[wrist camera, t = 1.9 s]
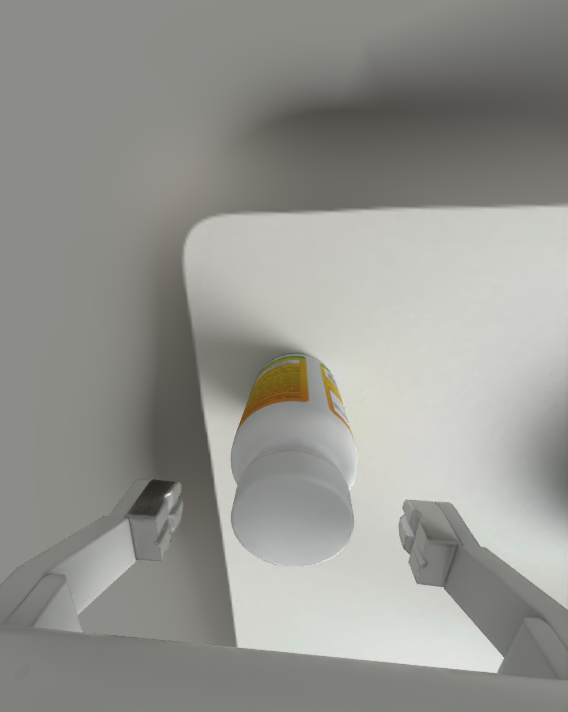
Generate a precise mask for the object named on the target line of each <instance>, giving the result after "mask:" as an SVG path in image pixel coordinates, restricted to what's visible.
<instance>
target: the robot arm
mask: <svg viewBox="0 0 568 712" xmlns="http://www.w3.org/2000/svg"><path fill="white" fill-rule="evenodd" d="M181 491H182V489H181V484H180V483H179V482H171V481H162V480H149V479H138V480H136V481H135V482H134V483H133V485H132V486H131V487H130V489H129V490H128V491H127V493H126V494H125V495H124V496H123V498H122V499H121V500H120V501H119V503H118V504H117V505H116V507H115V508H114V509H113V510H112V512H111V513H110V514H109V516H103V517H101V518H99V519H98V520H97V521H94V522H93V523H91V524H89V525H88V526H86V527H84V528H83V529H82V530H79V531H78V532H76V533H74V534H73V535H71V536H69V537H68V538H66V539H64V540H63V541H61V542H59V543H58V544H56V545H55V546H53V547H51V548H49V549H48V550H46V551H44V552H43V553H41V554H39V555H38V556H36V557H34V558H33V559H31V560H29V561H28V562H26V563H25V564H23V565H21V566H19V567H18V568H16V569H15V570H14V571H13V572H12V573H11V574H10V575H9V576H8V577H7V579H6V580H5V581H4V582H3V583H2V584H1V585H0V712H568V610H567V609H566V608H564V607H563V606H562V605H560V604H559V603H558V602H556V601H555V600H554V599H552V598H551V597H550V596H548V595H547V594H546V593H545V592H543V591H542V590H541V589H539V588H538V587H537V586H535V585H534V584H533V583H531V582H530V581H529V580H527V579H526V578H525V577H524V576H522V575H521V574H520V573H518V572H517V571H516V570H514V569H513V568H512V567H510V566H509V565H508V564H506V563H505V562H504V561H503V560H501V559H500V558H499V557H497V556H496V555H495V554H493V553H492V552H491V551H489V550H488V549H487V548H485V547H480V545H479V544H478V542H477V541H476V539H475V538H474V536H473V534H472V533H471V531H470V530H469V528H468V527H467V525H466V524H465V522H464V521H463V519H462V518H461V516H460V515H459V513H458V512H457V510H456V509H455V507H454V506H453V505H452V504H451V503H450V502H433V501H419V500H405V502H404V504H403V510H404V513H405V514H404V515H403V516H402V517H400V521H399V535H400V539H401V543H402V546H403V548H404V549H405V550H406V551H407V552H408V553H409V554H410V558H409V564H410V567H411V570H412V572H413V575H414V578H415V580H416V583H417V584H423V585H431V586H439V587H444V589H445V590H446V591H447V592H448V594H449V595H450V596H451V597H452V598H453V599H454V601H455V602H456V603H457V604H458V605H459V606H460V607H461V609H462V610H463V611H464V612H465V613H466V614H467V615H468V617H469V618H470V619H471V620H472V621H473V622H474V623H475V625H476V626H477V627H478V628H479V629H480V630H481V631H482V633H483V634H484V635H485V636H486V637H487V638H488V639H489V641H490V642H491V643H492V644H493V645H494V646H495V647H496V649H497V650H498V651H499V652H500V653H501V654H502V655H503V657H504V659H503V661H502V663H501V665H500V667H499V669H498V672H497V673H488V672H478V671H468V670H458V669H448V668H438V667H428V666H418V665H408V664H398V663H388V662H378V661H368V660H358V659H348V658H338V657H328V656H318V655H308V654H298V653H288V652H278V651H267V650H257V649H247V648H237V647H227V646H217V645H207V644H197V643H187V642H176V641H166V640H156V639H146V638H136V637H125V636H116V635H106V634H96V633H86V632H82V628H81V625H80V622H79V619H78V614H79V613H80V612H81V611H82V610H84V609H85V608H86V607H87V606H88V605H89V604H90V603H91V602H92V601H93V600H94V599H95V598H97V597H98V596H99V595H100V594H101V593H102V592H103V591H104V590H105V589H106V588H107V587H109V586H110V585H111V584H112V583H113V582H114V581H115V580H116V579H117V578H118V577H119V576H121V574H123V573H124V572H125V571H126V570H127V569H128V568H129V567H130V566H131V565H132V564H134V562H136V560H151V561H161V560H162V559H163V557H164V555H165V553H166V550H167V548H168V546H169V544H170V542H171V539H170V534H171V533H172V532H174V531H175V530H176V529H177V527H178V525H179V523H180V520H181V516H182V512H183V500H182V499H181V498H180V497H179V495H180V493H181Z"/></svg>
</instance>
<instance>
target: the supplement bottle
mask: <svg viewBox="0 0 568 712" xmlns="http://www.w3.org/2000/svg"><path fill="white" fill-rule="evenodd" d="M357 467H358V455H357V450H356V445H355V441H354V438H353V434H352V432H351V429H350V425H349V422H348V419H347V416H346V413H345V409H344V406H343V403H342V400H341V397H340V393H339V390H338V387H337V384H336V381H335V379H334V377H333V375H332V373H331V372H330V370H329V369H328V368H327V367H326V366H325V365H324V364H323V363H322V362H320V361H319V360H317V359H315V358H313V357H310V356H307V355H302V354H289V355H284V356H280V357H278V358H275V359H274V360H272V361H270V362H269V363H268V364H267V365H266V366H265V367H264V368H263V369H262V370H261V372H260V373H259V375H258V377H257V379H256V381H255V383H254V386H253V389H252V392H251V394H250V397H249V400H248V402H247V405H246V408H245V410H244V413H243V415H242V418H241V421H240V424H239V427H238V429H237V432H236V435H235V438H234V442H233V445H232V450H231V468H232V473H233V476H234V479H235V481H236V483H237V485H238V486H237V490H236V494H235V498H234V503H233V507H232V512H231V523H232V528H233V531H234V533H235V535H236V537H237V539H238V540H239V542H240V543H241V544H242V546H243V547H245V548H246V549H247V550H248V551H249V552H250V553H252V554H253V555H255V556H256V557H258V558H260V559H262V560H264V561H266V562H269V563H272V564H276V565H281V566H288V567H304V566H311V565H315V564H319V563H322V562H324V561H327V560H329V559H331V558H332V557H334V556H335V555H337V554H338V553H339V552H340V551H342V549H343V548H344V547H345V546H346V545H347V543H348V542H349V540H350V538H351V535H352V532H353V528H354V515H353V510H352V504H351V499H350V489H351V488H352V486H353V483H354V481H355V478H356V474H357Z"/></svg>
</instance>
